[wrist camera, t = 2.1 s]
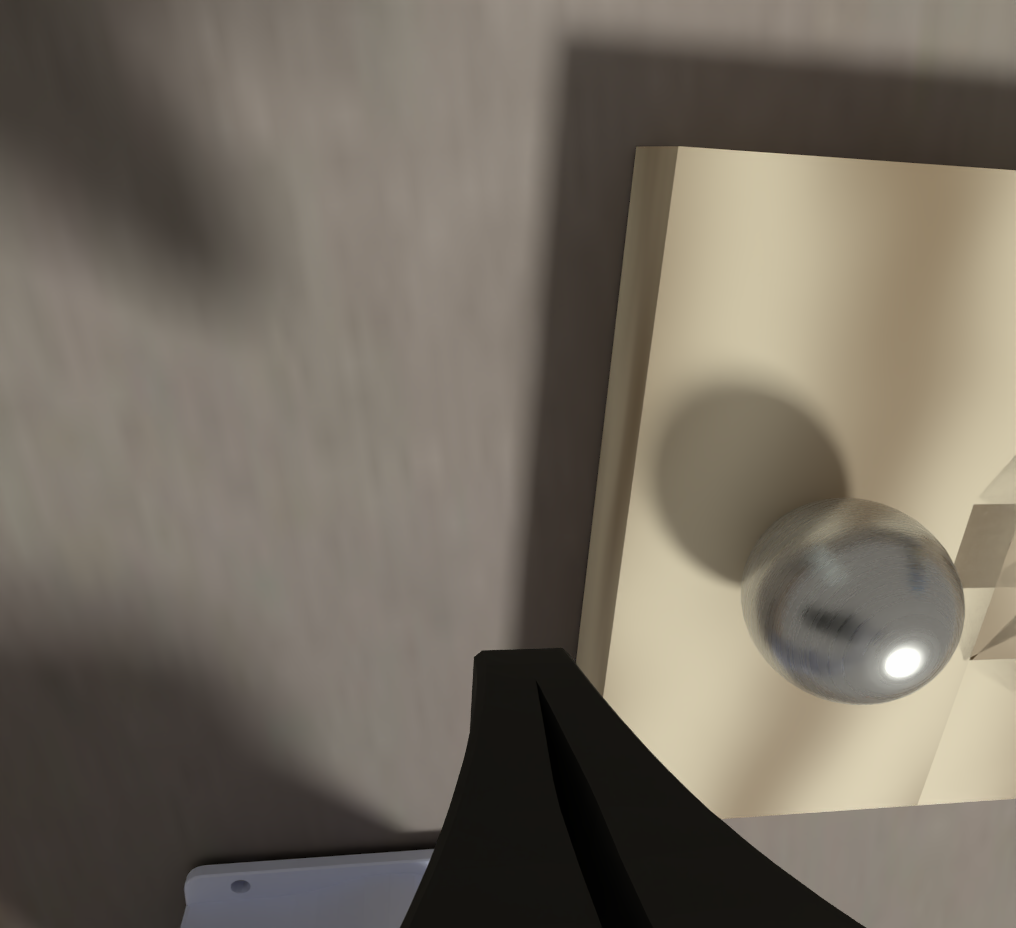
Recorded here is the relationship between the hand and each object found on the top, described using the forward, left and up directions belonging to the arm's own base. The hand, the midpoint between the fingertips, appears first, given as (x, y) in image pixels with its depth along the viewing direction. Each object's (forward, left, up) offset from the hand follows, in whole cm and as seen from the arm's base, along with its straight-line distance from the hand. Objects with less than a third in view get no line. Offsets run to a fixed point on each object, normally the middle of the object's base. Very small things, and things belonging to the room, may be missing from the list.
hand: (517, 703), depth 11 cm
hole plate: (+12, 0, -7) cm, 14 cm away
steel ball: (+7, 0, -3) cm, 8 cm away
